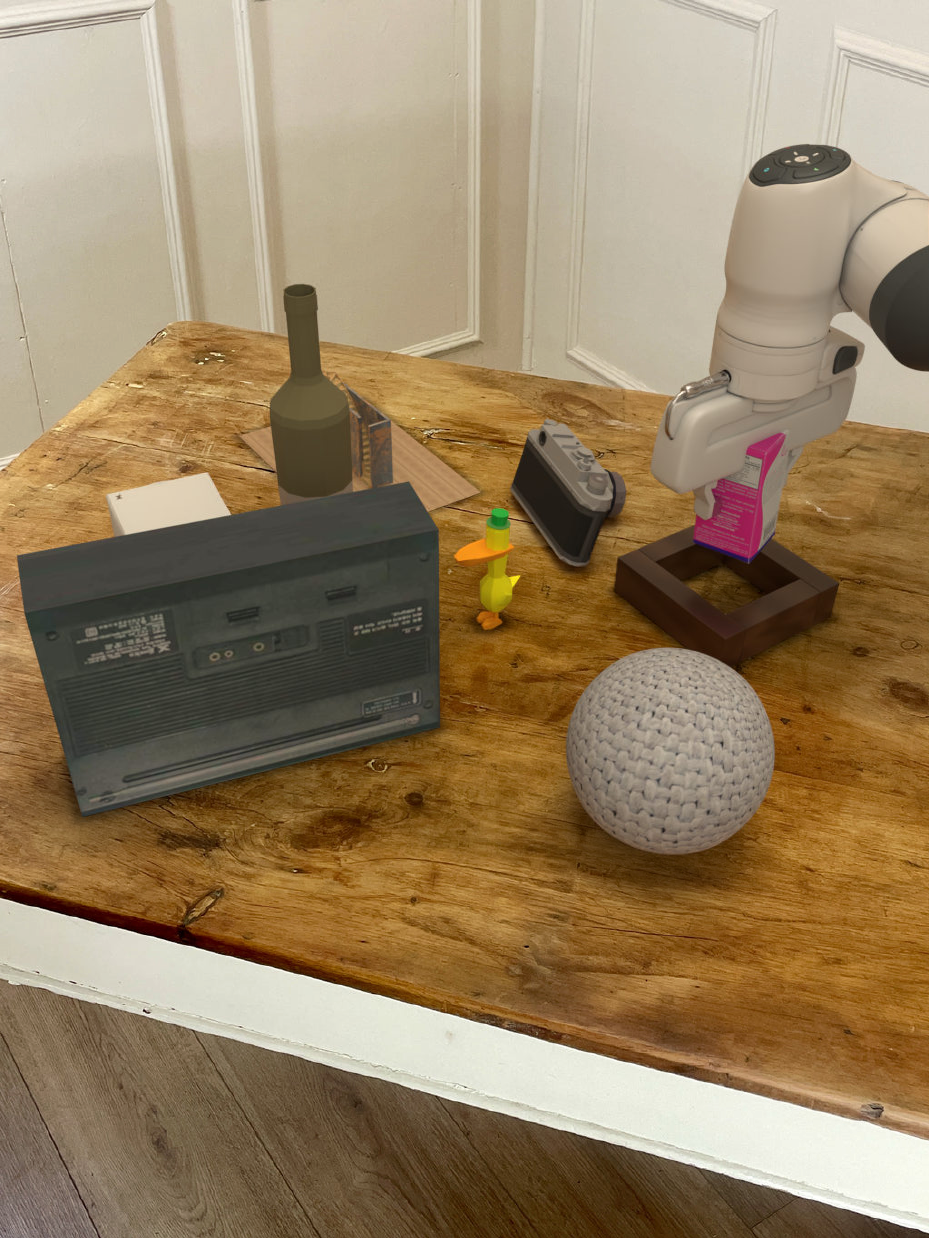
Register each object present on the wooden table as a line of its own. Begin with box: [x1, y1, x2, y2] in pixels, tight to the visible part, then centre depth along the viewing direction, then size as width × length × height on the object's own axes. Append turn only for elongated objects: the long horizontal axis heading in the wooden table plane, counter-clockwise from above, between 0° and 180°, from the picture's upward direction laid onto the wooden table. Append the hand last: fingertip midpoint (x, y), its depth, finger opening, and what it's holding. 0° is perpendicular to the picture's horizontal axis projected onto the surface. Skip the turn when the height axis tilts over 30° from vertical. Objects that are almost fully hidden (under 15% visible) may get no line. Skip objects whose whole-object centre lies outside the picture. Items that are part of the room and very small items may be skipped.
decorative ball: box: [565, 647, 776, 856], centre depth 87 cm, size 15×15×15 cm
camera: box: [509, 418, 627, 567], centre depth 121 cm, size 16×9×10 cm, turn 20°
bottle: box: [269, 283, 353, 506], centre depth 105 cm, size 7×7×30 cm
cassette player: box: [16, 481, 441, 818], centre depth 92 cm, size 29×7×20 cm, turn 110°
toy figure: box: [453, 507, 522, 631], centre depth 107 cm, size 7×4×12 cm, turn 119°
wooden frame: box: [613, 524, 840, 668], centre depth 112 cm, size 14×14×4 cm
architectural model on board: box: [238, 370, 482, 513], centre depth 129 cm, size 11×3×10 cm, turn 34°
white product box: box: [105, 472, 232, 537], centre depth 103 cm, size 9×9×15 cm
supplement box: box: [693, 430, 790, 564], centre depth 105 cm, size 6×6×12 cm
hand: (740, 500), depth 106 cm, fingers closed on supplement box, 7 cm apart
